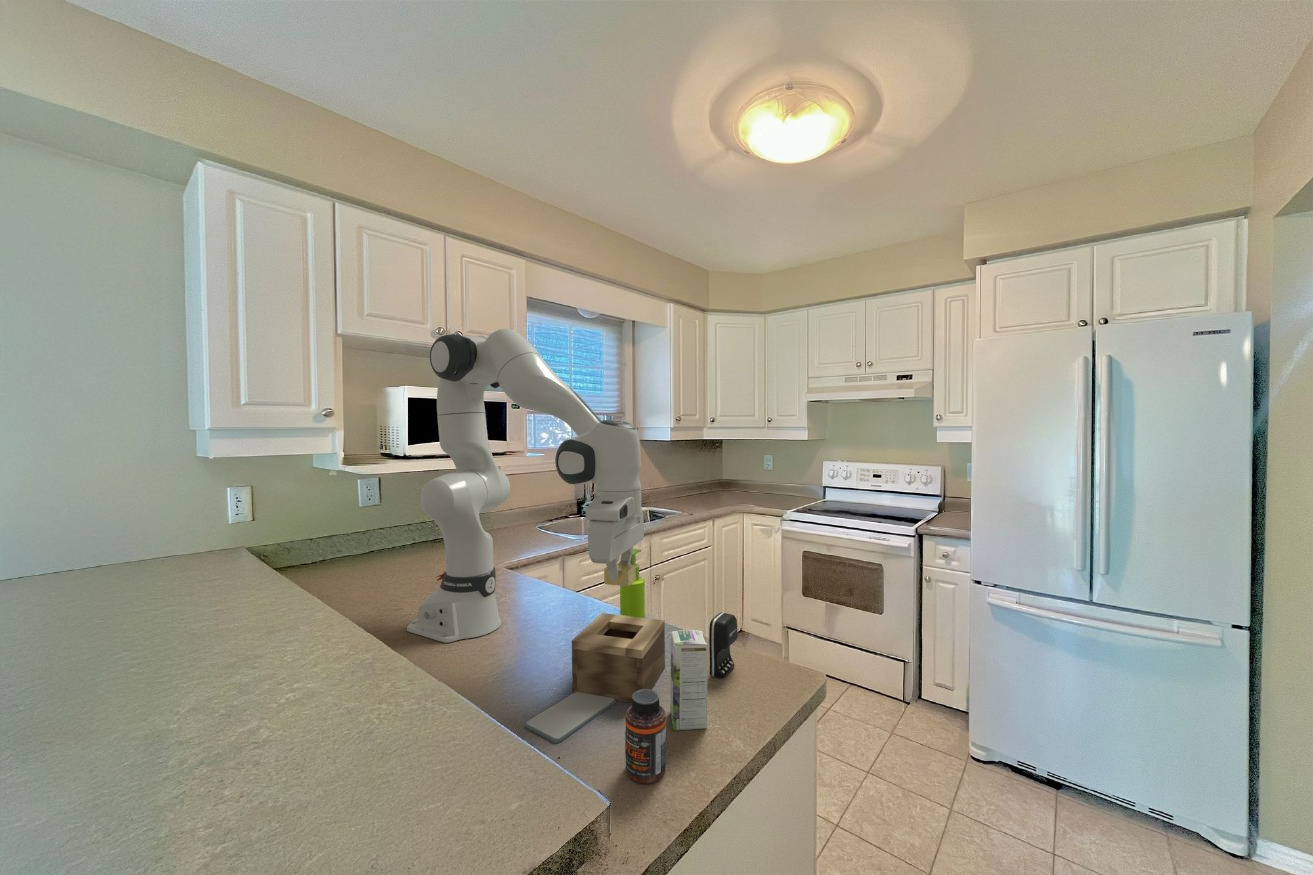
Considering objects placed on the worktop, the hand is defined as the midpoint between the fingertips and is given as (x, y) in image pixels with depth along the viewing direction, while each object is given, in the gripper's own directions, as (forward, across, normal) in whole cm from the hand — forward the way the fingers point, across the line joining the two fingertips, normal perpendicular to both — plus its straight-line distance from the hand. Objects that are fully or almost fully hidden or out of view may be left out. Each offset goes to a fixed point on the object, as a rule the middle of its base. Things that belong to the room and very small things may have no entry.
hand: (619, 573), depth 99 cm
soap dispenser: (+21, -21, -5) cm, 30 cm away
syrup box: (+21, +9, +16) cm, 28 cm away
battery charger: (+21, -9, +19) cm, 30 cm away
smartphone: (+22, +13, -4) cm, 26 cm away
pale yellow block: (+2, 0, 0) cm, 2 cm away
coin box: (+21, 0, 0) cm, 21 cm away
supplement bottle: (+21, +23, +13) cm, 34 cm away
